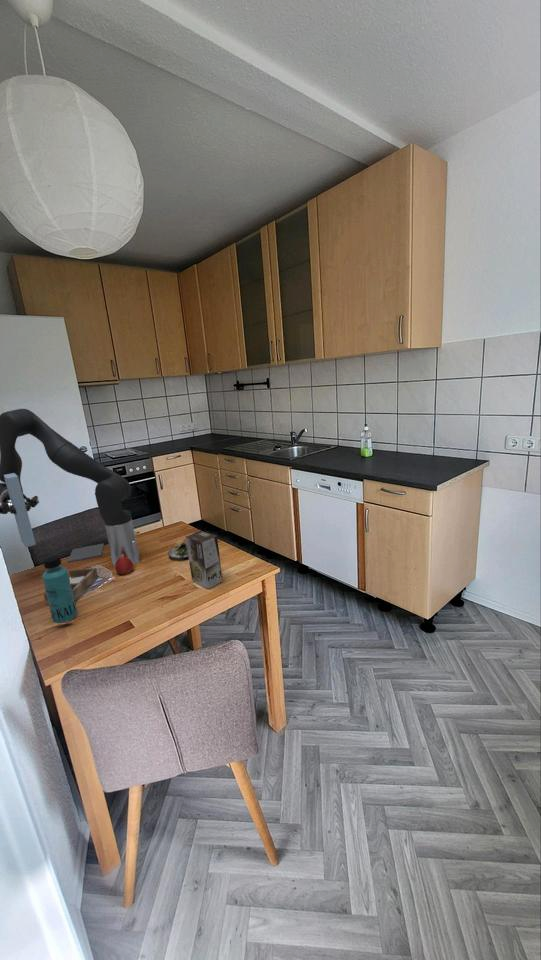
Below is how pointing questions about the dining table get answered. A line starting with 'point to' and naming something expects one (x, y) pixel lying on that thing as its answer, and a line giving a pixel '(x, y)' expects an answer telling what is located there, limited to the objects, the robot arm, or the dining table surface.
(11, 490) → the board
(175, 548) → the burger
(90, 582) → the rack
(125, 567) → the pomegranate
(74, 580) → the offcut
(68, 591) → the beverage bottle
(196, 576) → the coffee box
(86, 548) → the mat
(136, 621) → the dining table surface
